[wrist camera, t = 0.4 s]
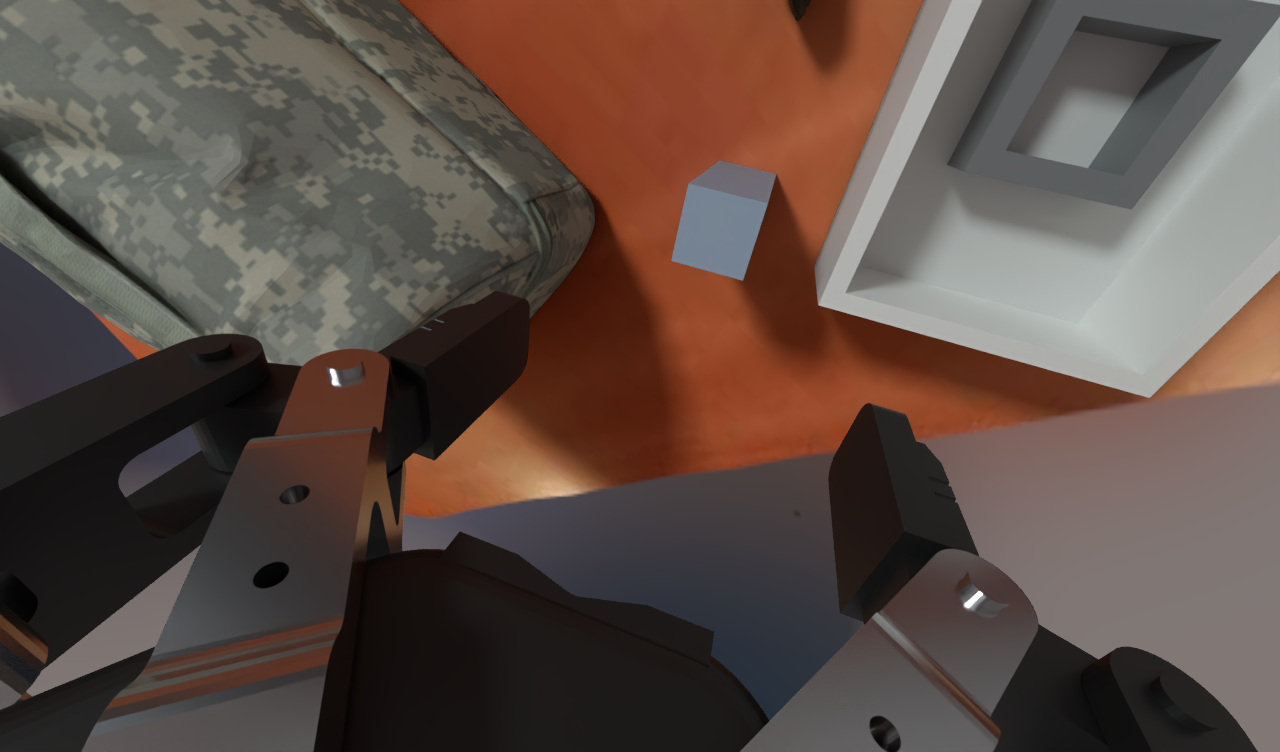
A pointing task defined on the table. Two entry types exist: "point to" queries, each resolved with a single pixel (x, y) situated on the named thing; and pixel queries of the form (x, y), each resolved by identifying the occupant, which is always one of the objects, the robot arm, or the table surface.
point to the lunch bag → (270, 171)
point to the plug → (722, 218)
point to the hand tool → (799, 7)
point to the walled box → (1068, 182)
